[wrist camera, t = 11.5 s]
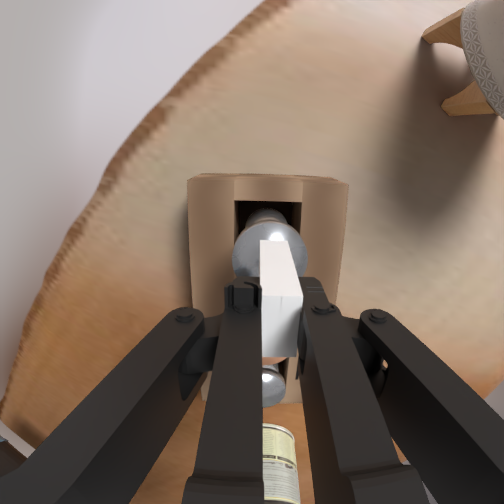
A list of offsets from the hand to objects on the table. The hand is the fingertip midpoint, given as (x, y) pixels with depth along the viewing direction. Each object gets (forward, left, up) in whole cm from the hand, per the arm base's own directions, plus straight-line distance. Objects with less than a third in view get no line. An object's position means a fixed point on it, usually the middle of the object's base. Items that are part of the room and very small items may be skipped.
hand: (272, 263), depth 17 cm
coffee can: (+1, -34, -13) cm, 36 cm away
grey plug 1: (0, 0, -8) cm, 8 cm away
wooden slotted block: (0, -7, -13) cm, 14 cm away
